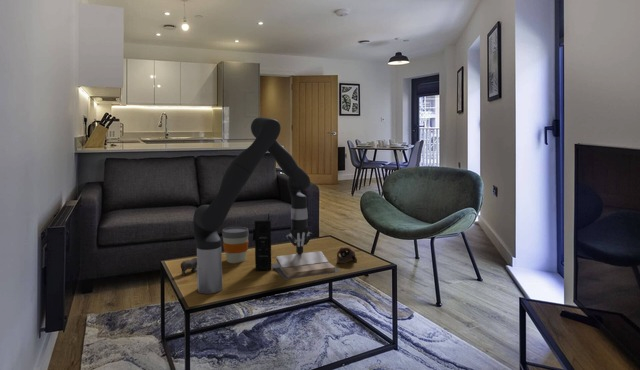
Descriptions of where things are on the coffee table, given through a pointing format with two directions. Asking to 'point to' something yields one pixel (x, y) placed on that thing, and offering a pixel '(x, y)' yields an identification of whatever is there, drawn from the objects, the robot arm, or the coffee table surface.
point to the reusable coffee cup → (235, 243)
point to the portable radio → (262, 244)
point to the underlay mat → (278, 269)
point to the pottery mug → (345, 255)
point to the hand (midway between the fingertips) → (299, 253)
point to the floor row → (308, 269)
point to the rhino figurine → (189, 265)
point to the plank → (301, 259)
